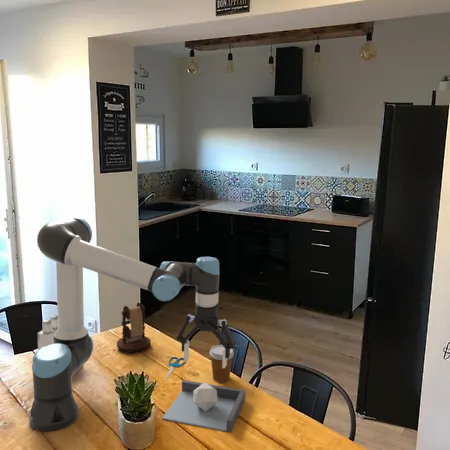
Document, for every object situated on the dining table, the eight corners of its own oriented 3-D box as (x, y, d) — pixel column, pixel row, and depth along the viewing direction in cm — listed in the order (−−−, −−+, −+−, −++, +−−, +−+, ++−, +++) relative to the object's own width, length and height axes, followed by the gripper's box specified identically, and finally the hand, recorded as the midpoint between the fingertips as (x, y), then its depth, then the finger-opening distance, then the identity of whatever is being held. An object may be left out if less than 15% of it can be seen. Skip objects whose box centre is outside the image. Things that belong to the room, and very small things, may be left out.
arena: (230, 432, 146) (231, 420, 146) (162, 419, 153) (162, 408, 152) (245, 400, 165) (245, 390, 164) (183, 389, 171) (183, 379, 170)
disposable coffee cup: (212, 386, 174) (212, 356, 172) (206, 374, 183) (207, 345, 181) (236, 383, 177) (237, 353, 175) (229, 371, 186) (230, 343, 184)
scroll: (127, 357, 196) (127, 312, 192) (110, 346, 207) (110, 303, 203) (157, 348, 206) (157, 305, 202) (139, 337, 216) (138, 296, 213)
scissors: (187, 358, 195) (171, 381, 176) (187, 360, 196) (171, 384, 176) (171, 356, 197) (155, 379, 177) (171, 358, 197) (155, 382, 178)
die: (200, 399, 165) (187, 384, 161) (221, 389, 164) (208, 374, 159) (202, 419, 158) (187, 403, 154) (224, 409, 157) (210, 393, 152)
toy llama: (77, 375, 180) (75, 326, 177) (39, 368, 185) (36, 321, 182) (88, 366, 187) (86, 319, 184) (50, 360, 192) (48, 314, 189)
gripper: (246, 304, 153) (243, 364, 157) (176, 295, 160) (175, 353, 163) (240, 312, 146) (238, 374, 150) (167, 302, 153) (166, 362, 156)
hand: (205, 363), depth 157 cm, fingers open, 13 cm apart
